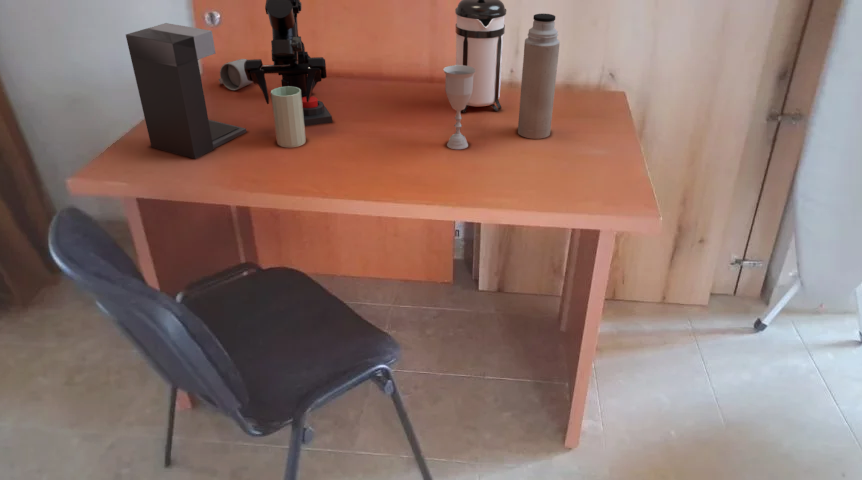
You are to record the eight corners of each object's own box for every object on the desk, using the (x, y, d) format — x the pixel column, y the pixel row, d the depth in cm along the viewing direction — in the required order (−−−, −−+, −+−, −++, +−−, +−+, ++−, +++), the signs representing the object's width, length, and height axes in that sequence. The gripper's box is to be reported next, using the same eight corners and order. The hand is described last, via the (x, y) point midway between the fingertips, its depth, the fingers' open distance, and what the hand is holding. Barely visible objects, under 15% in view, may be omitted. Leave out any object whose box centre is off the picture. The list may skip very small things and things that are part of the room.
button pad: (289, 112, 183) (287, 99, 182) (322, 108, 186) (321, 95, 184) (297, 127, 175) (295, 114, 173) (332, 122, 177) (331, 109, 175)
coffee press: (518, 103, 189) (526, -14, 173) (480, 119, 179) (486, -3, 163) (469, 89, 199) (473, -23, 183) (431, 103, 189) (431, -14, 173)
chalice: (476, 141, 167) (479, 67, 157) (468, 152, 162) (471, 75, 152) (447, 137, 169) (448, 63, 159) (438, 148, 164) (439, 72, 154)
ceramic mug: (260, 83, 203) (256, 57, 199) (243, 92, 196) (238, 65, 192) (231, 79, 206) (226, 53, 202) (213, 87, 200) (208, 60, 196)
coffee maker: (206, 122, 178) (187, 16, 163) (248, 132, 172) (232, 24, 158) (151, 147, 164) (125, 34, 150) (195, 159, 159) (172, 43, 144)
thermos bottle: (523, 124, 176) (532, 9, 161) (554, 129, 174) (566, 13, 158) (513, 135, 170) (522, 17, 155) (544, 141, 168) (556, 20, 152)
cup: (294, 134, 171) (289, 84, 164) (311, 142, 167) (306, 91, 160) (271, 142, 167) (264, 91, 160) (288, 150, 163) (282, 98, 156)
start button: (299, 104, 180) (298, 97, 179) (315, 102, 181) (315, 95, 180) (302, 109, 176) (301, 103, 175) (319, 107, 178) (319, 101, 177)
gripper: (239, 24, 158) (241, 87, 155) (322, 22, 160) (325, 84, 156) (247, 49, 169) (249, 109, 165) (325, 47, 170) (328, 106, 167)
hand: (287, 102), depth 163 cm, fingers open, 9 cm apart
